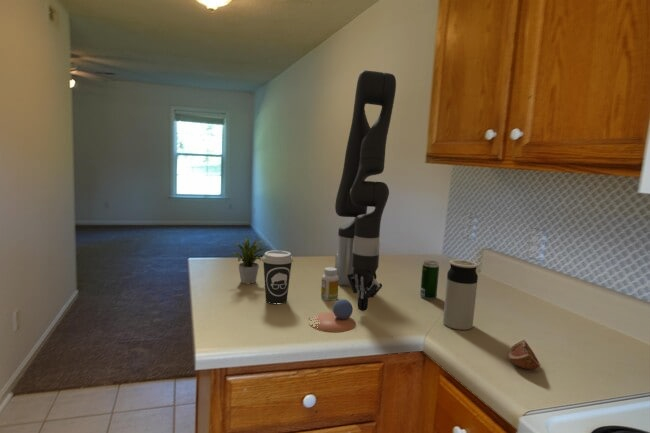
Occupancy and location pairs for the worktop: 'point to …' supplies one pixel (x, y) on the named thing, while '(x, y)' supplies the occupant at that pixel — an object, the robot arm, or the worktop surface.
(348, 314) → the ball
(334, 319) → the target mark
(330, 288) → the supplement bottle
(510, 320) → the worktop surface
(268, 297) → the coffee cup
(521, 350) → the fruit slice
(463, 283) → the travel mug
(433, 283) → the beer can
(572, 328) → the worktop surface
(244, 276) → the house plant
